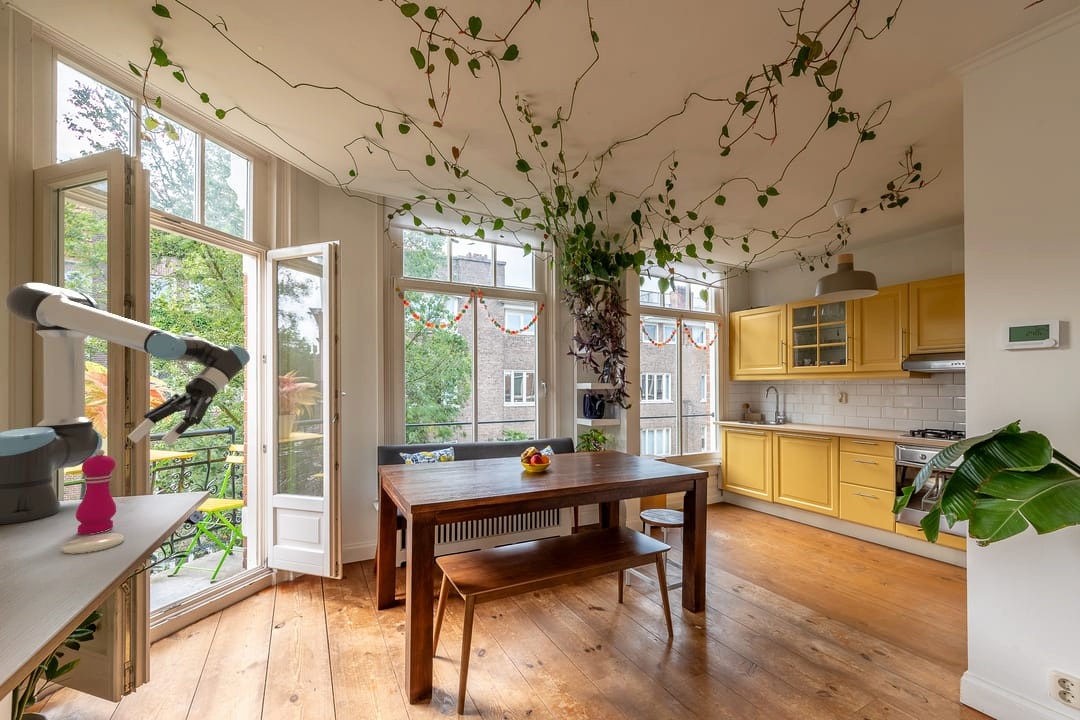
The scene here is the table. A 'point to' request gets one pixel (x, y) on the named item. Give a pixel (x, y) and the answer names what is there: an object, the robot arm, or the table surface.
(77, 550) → the cream dome
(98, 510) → the pepper mill
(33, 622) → the table surface
